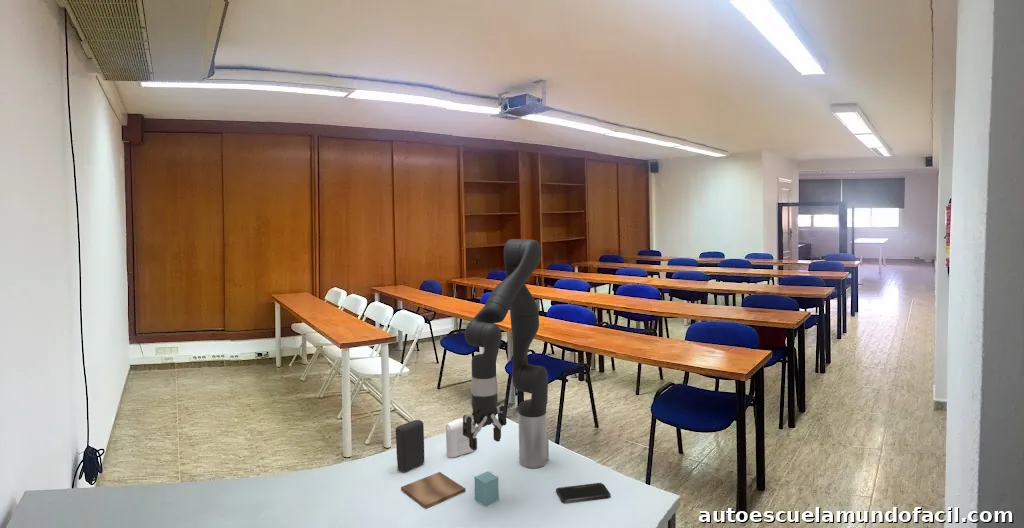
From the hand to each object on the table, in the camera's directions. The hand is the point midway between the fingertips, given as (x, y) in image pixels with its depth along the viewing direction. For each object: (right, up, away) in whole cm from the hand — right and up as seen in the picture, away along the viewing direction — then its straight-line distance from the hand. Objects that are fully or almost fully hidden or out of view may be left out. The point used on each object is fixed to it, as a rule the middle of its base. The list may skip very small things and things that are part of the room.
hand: (485, 445), depth 157 cm
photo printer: (-10, -14, +32) cm, 36 cm away
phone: (+29, -17, +4) cm, 34 cm away
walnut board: (-16, -16, +7) cm, 24 cm away
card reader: (-26, -15, +23) cm, 38 cm away
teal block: (0, -17, +2) cm, 17 cm away
